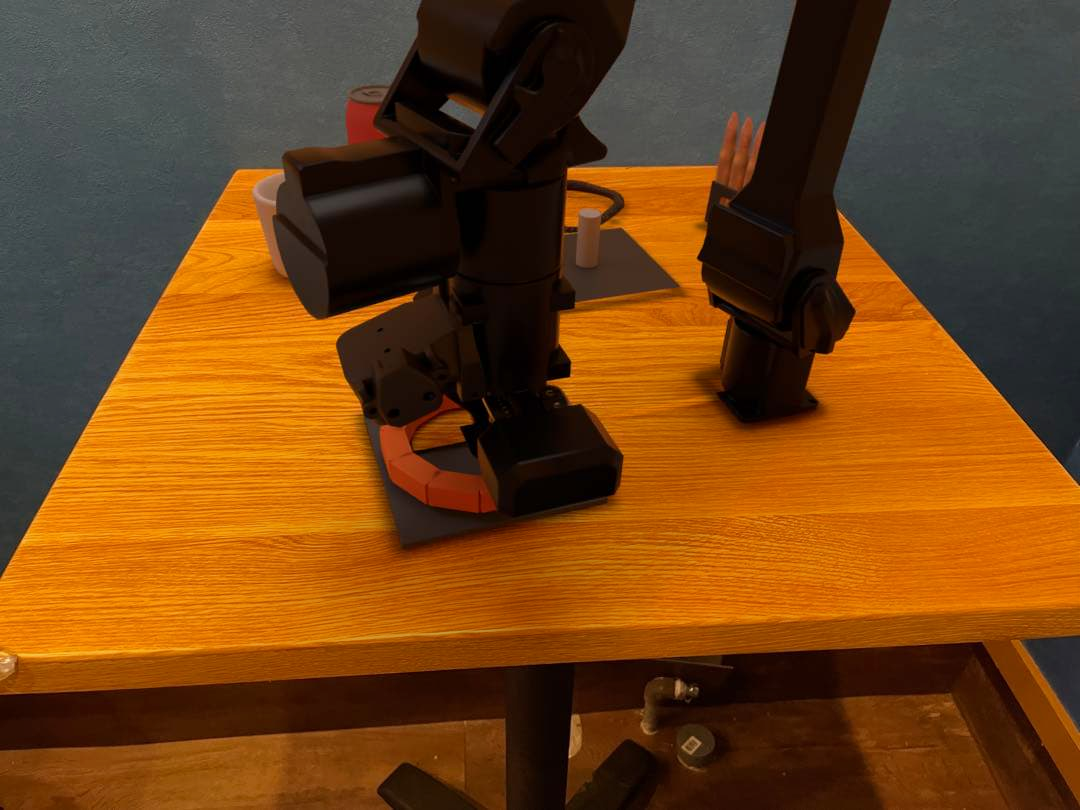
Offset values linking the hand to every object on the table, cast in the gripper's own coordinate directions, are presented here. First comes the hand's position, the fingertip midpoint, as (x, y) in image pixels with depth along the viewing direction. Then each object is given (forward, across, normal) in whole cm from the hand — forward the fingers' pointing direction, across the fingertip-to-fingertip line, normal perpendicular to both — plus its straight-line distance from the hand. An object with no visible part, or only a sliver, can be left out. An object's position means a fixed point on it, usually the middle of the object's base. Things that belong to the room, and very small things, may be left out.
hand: (503, 492), depth 49 cm
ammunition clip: (+2, -29, +35) cm, 46 cm away
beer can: (+2, -47, +2) cm, 47 cm away
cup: (+2, -36, -6) cm, 37 cm away
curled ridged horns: (+2, -40, +20) cm, 45 cm away
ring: (0, -5, 0) cm, 5 cm away
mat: (+2, -5, 0) cm, 6 cm away
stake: (+2, -28, +17) cm, 33 cm away
